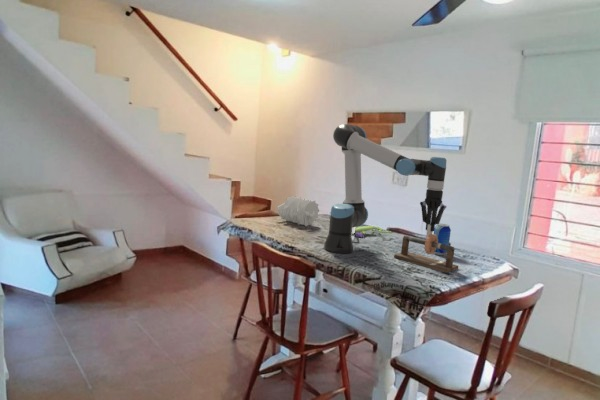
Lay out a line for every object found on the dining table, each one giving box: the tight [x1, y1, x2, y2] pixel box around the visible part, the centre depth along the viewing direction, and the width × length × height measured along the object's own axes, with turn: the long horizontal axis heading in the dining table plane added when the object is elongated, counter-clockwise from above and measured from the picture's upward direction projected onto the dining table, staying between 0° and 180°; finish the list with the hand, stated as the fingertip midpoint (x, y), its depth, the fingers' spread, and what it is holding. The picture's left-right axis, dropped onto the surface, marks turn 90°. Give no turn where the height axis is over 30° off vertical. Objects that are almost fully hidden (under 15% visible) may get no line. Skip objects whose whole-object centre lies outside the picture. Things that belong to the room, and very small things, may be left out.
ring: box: [423, 233, 438, 255], centre depth 208 cm, size 9×2×9 cm, turn 135°
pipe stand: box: [393, 234, 459, 274], centre depth 210 cm, size 12×28×11 cm, turn 45°
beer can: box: [433, 223, 452, 256], centre depth 232 cm, size 8×8×16 cm
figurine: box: [354, 225, 392, 238], centre depth 266 cm, size 18×27×6 cm
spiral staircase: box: [276, 195, 320, 227], centre depth 282 cm, size 18×18×25 cm
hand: (428, 237), depth 209 cm, fingers closed
